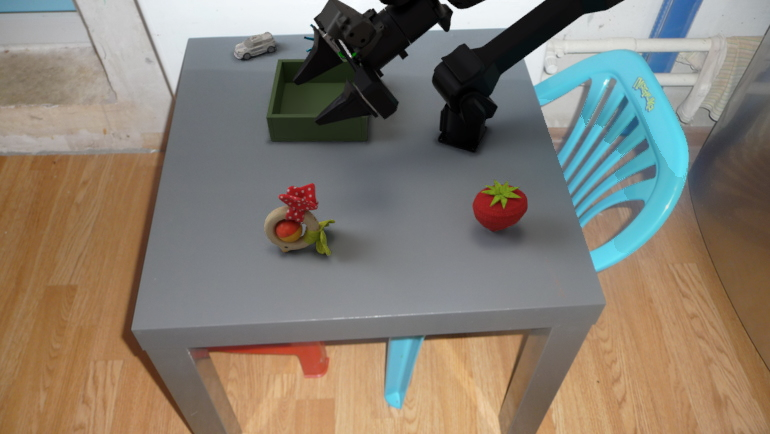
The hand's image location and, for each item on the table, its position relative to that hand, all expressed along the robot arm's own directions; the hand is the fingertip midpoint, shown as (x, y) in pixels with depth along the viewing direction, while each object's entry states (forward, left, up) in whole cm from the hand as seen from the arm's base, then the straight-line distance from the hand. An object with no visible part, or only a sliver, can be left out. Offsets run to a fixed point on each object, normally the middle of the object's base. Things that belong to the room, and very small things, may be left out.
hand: (305, 102), depth 78 cm
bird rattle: (-5, +12, -15) cm, 20 cm away
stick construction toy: (+13, -31, -15) cm, 37 cm away
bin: (+7, -15, -15) cm, 22 cm away
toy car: (+27, -25, -15) cm, 40 cm away
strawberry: (-28, -2, -15) cm, 32 cm away
